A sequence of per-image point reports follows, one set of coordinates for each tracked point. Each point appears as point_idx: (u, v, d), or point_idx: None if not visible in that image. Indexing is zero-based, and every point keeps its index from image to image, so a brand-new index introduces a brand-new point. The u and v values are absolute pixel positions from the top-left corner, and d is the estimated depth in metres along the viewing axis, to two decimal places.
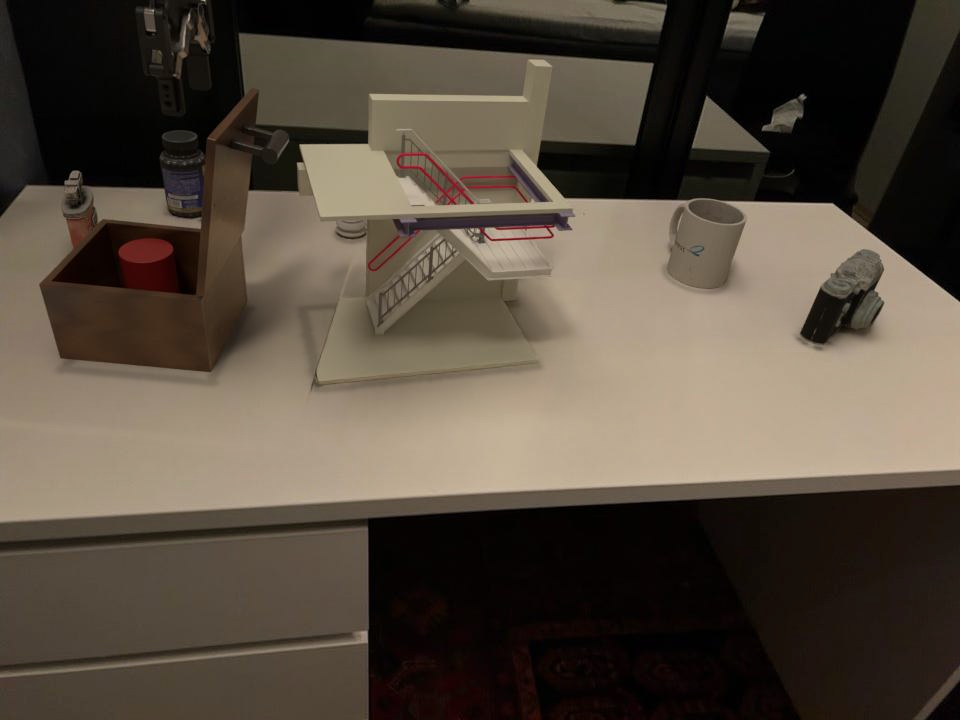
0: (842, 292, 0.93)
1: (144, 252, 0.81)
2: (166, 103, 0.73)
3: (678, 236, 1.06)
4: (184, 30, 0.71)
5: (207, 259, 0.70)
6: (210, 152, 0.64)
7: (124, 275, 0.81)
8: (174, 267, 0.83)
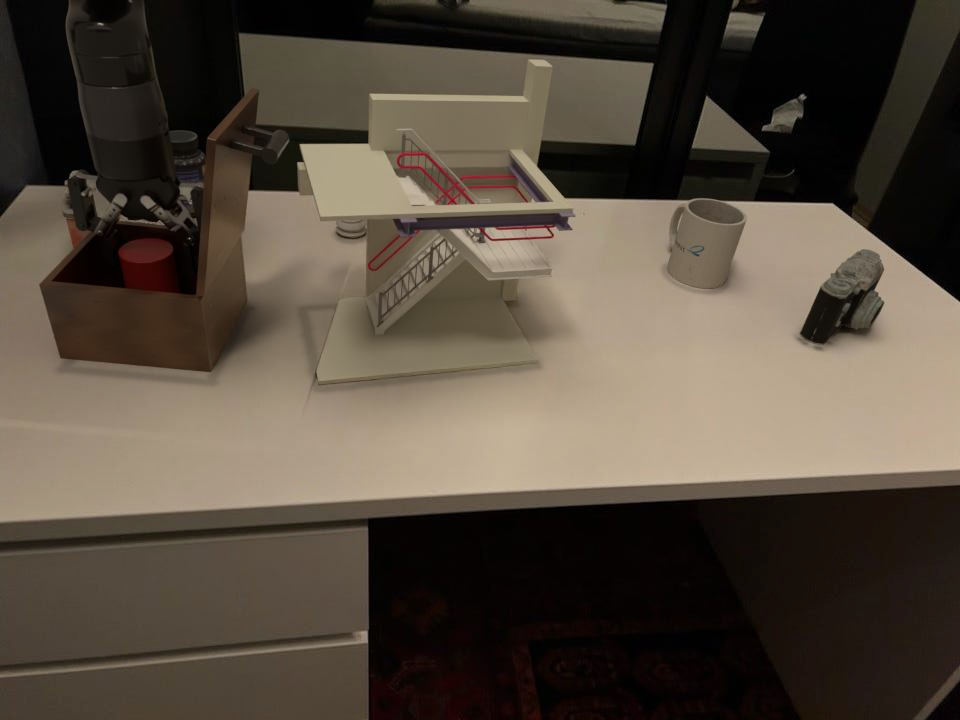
0: (842, 292, 0.93)
1: (144, 252, 0.81)
2: None
3: (678, 236, 1.06)
4: None
5: (207, 259, 0.70)
6: (210, 152, 0.64)
7: (124, 275, 0.81)
8: (174, 267, 0.83)
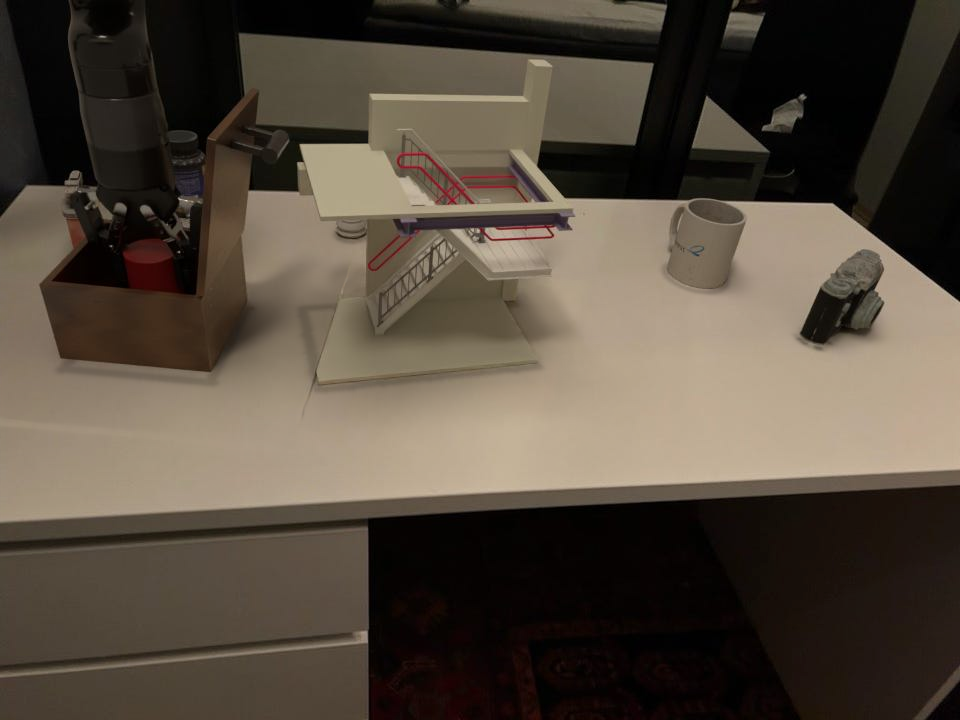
0: (842, 292, 0.93)
1: (149, 252, 0.81)
2: None
3: (678, 236, 1.06)
4: None
5: (207, 259, 0.70)
6: (210, 152, 0.64)
7: (128, 275, 0.81)
8: None
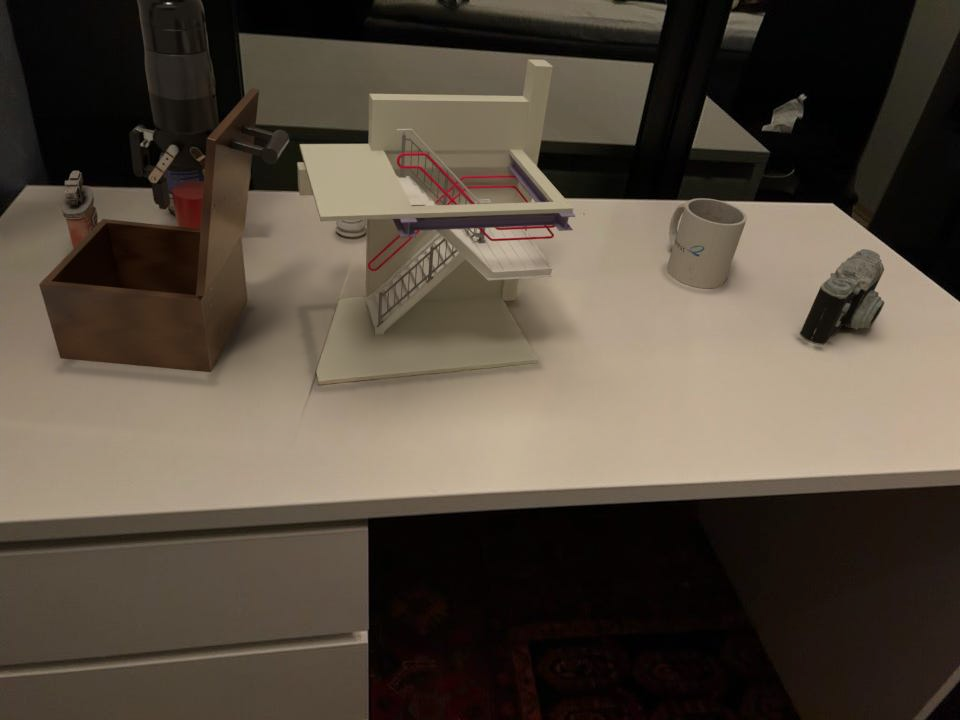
0: (842, 292, 0.93)
1: (194, 191, 0.96)
2: None
3: (678, 236, 1.06)
4: None
5: (207, 259, 0.70)
6: (210, 152, 0.64)
7: (176, 210, 0.96)
8: None
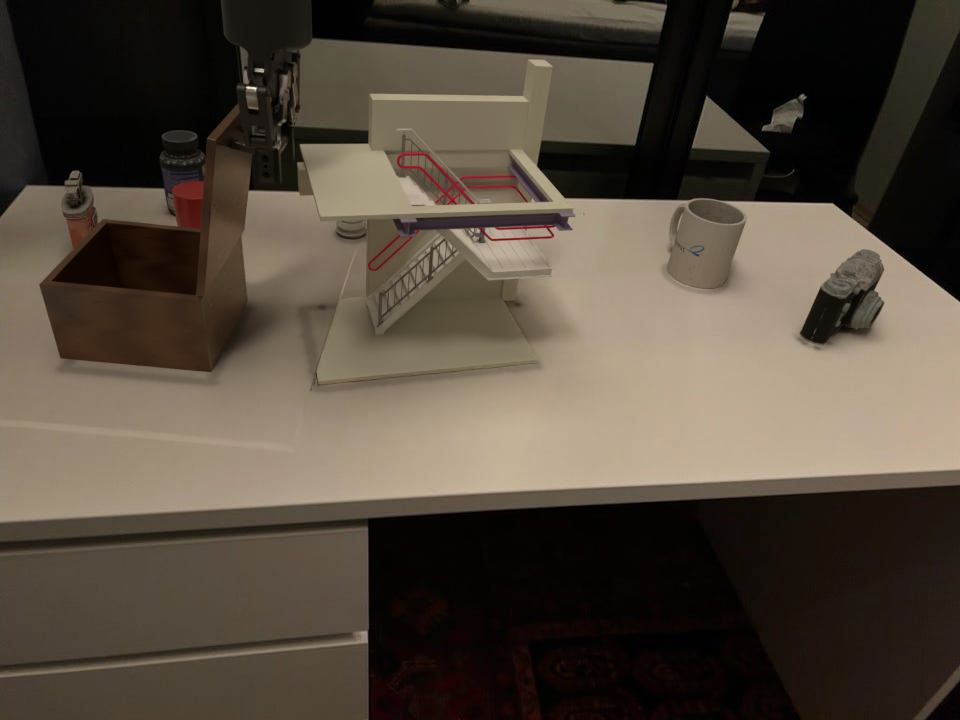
0: (842, 292, 0.93)
1: (194, 191, 0.96)
2: None
3: (678, 236, 1.06)
4: None
5: (207, 259, 0.70)
6: (210, 152, 0.64)
7: (176, 210, 0.96)
8: None
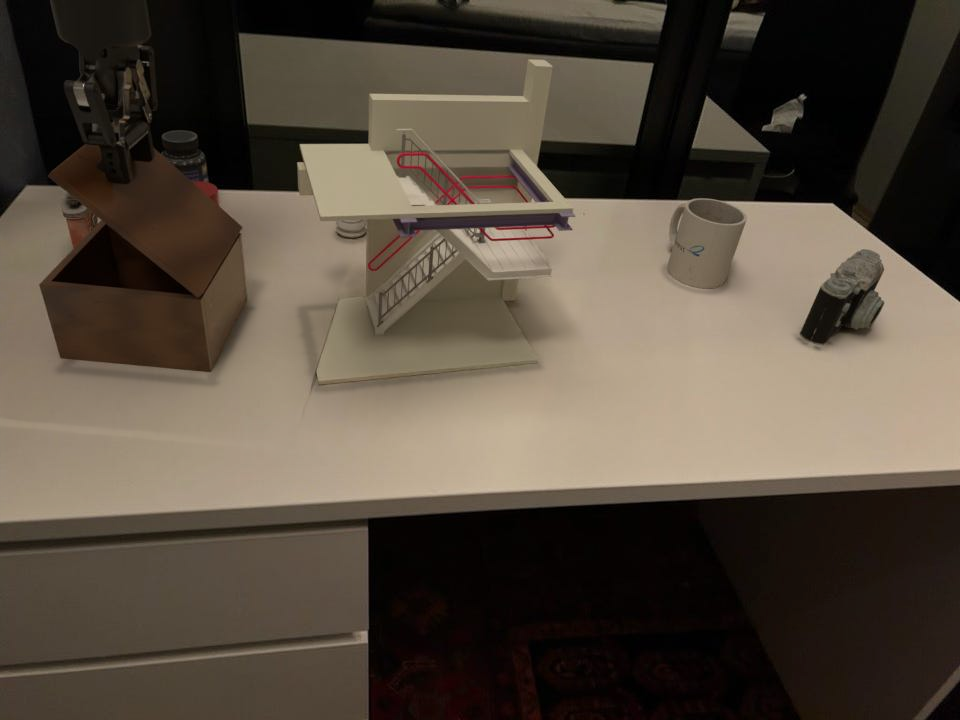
0: (842, 292, 0.93)
1: None
2: None
3: (678, 236, 1.06)
4: None
5: (167, 263, 0.71)
6: (61, 183, 0.66)
7: None
8: (218, 205, 0.98)
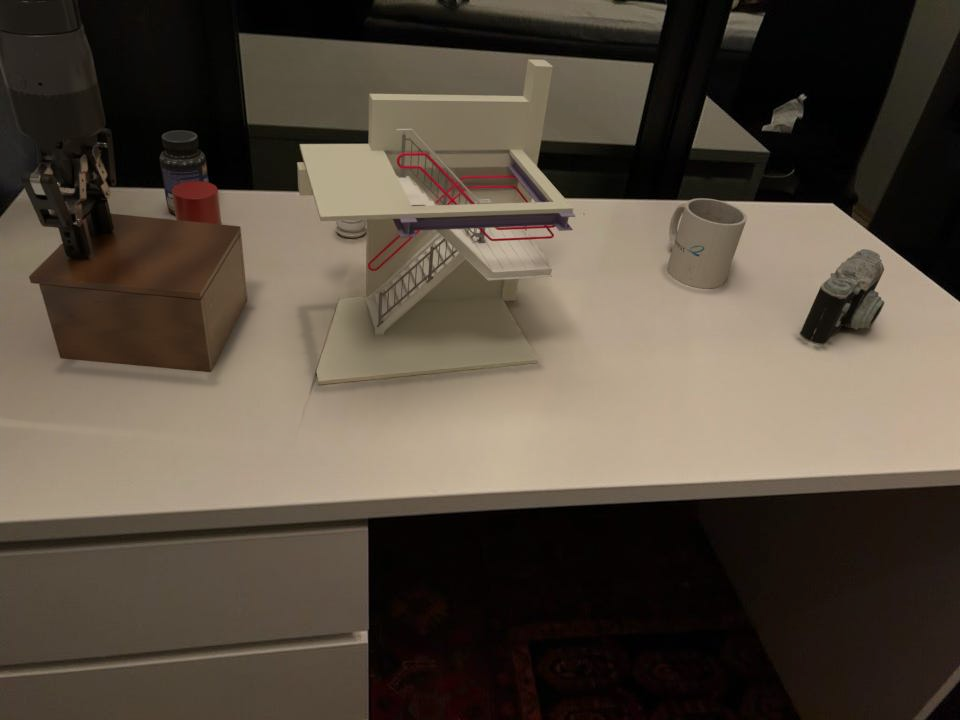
0: (842, 292, 0.93)
1: (194, 191, 0.96)
2: None
3: (678, 236, 1.06)
4: None
5: (156, 287, 0.72)
6: (41, 281, 0.72)
7: (176, 210, 0.96)
8: (218, 205, 0.98)
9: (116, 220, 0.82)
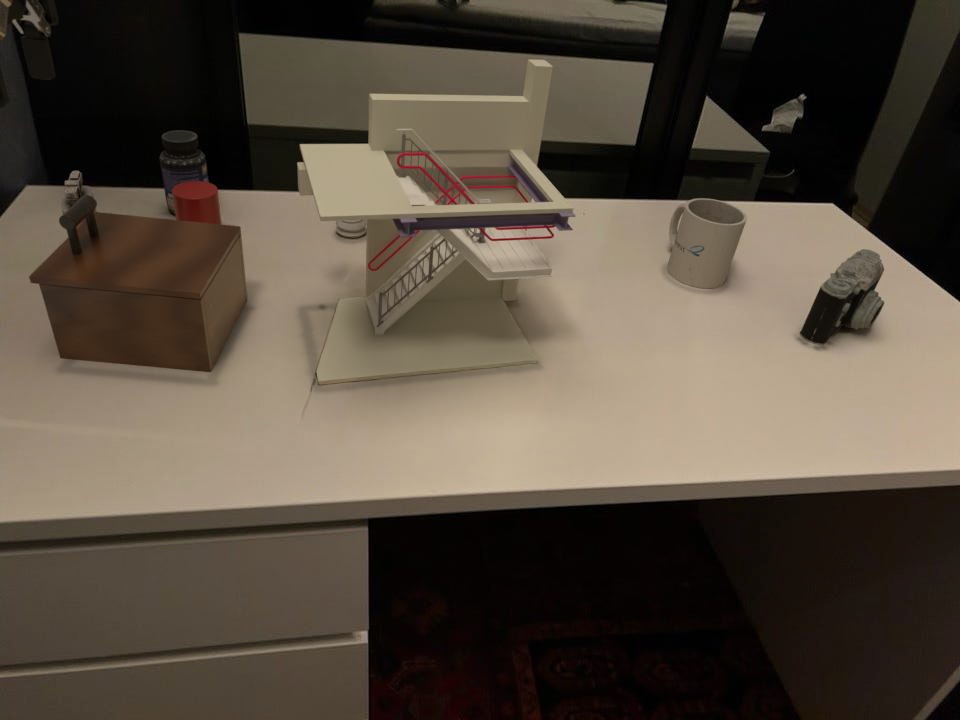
0: (842, 292, 0.93)
1: (194, 191, 0.96)
2: None
3: (678, 236, 1.06)
4: None
5: (156, 287, 0.72)
6: (41, 281, 0.72)
7: (176, 210, 0.96)
8: (218, 205, 0.98)
9: (116, 220, 0.82)
